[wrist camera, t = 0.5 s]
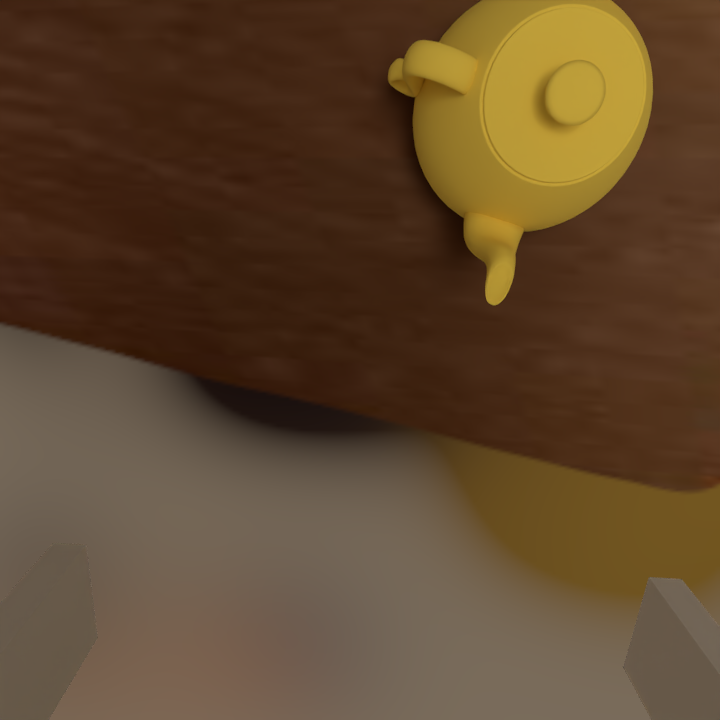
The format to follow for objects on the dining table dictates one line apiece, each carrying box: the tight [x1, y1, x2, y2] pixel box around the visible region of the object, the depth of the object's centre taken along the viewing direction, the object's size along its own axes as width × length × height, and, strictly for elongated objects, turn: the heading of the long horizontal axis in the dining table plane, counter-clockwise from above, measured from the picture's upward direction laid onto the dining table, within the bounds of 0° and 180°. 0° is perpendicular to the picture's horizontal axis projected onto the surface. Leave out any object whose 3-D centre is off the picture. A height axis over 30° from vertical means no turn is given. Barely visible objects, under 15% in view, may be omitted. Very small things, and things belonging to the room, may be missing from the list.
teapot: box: [388, 0, 653, 305], centre depth 28 cm, size 20×15×12 cm
